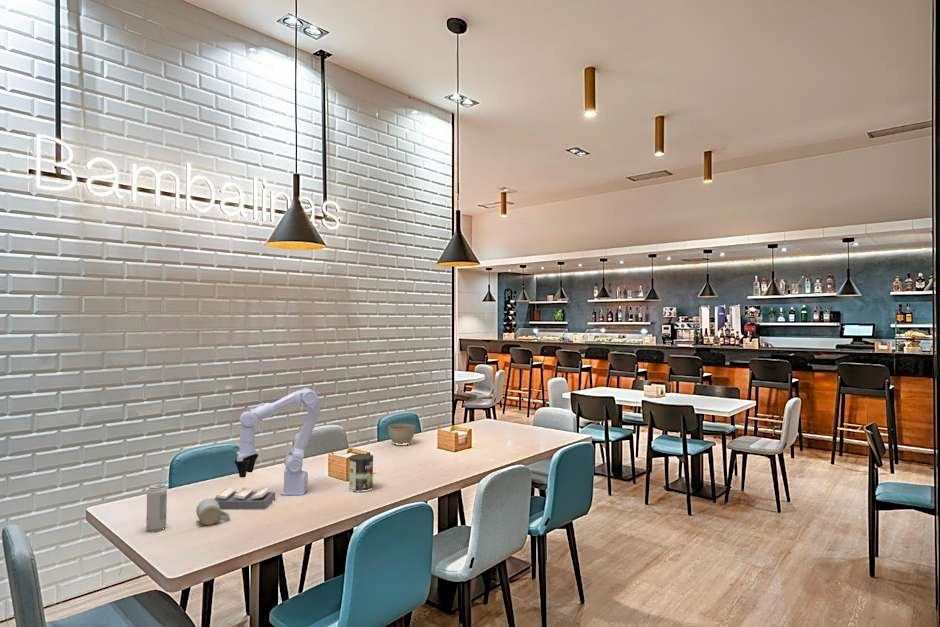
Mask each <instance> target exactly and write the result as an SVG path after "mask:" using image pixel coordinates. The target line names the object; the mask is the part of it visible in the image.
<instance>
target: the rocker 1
mask: <svg viewBox="0 0 940 627" xmlns="http://www.w3.org/2000/svg"><path fill="white" fill-rule="evenodd" d="M235 492H237V490H236V489H235V488H229V487H225V488H223V489H222V490H221V491H219V492H218V493H216V495H215V497H218V498H220V499H227V498H228V497H229V496H231V495H232V494H233V493H235Z"/></svg>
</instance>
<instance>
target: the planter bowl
mask: <svg viewBox="0 0 940 627" xmlns="http://www.w3.org/2000/svg"><path fill="white" fill-rule="evenodd" d="M387 431H388V436H389V438H390V440H391V442H392V443H393V442H394V443H398V444H403V443H409V442H410V443H411V441H412V440H413V439H414V435H415V431H416V425H414V424H411V423H393V424H389V425H388V426H387Z"/></svg>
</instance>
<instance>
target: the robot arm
mask: <svg viewBox="0 0 940 627" xmlns="http://www.w3.org/2000/svg"><path fill="white" fill-rule="evenodd" d="M293 403H294V404H302V403H303V405H304V407H305V409H306V411H307V413H306V416H305V418H304V420H303V423H302V424H301V428H300V430H299V432H298V433H297V434H298V435H297V438H296V439H295V442H294V443H293V446H292V448H291V449H290V450H289V453H288V454H286V456H285V457H284V460H283V463H284V464H283V465H284V466H285V469H284V470H283V491H282V492H281V493H280V496H303V495H305V494H306V492H307V491H308V490H309V488H308V486H309V485H308V484H309V480H308V479H309V478H308V477H309V473H308V471H306V470H303V469H302V468H303V465H304V464H303V461H304V458H305V450H306V448H307V446H308V443H309V441H310V438H311V436H312V433H313V431H314V429H315V426H316V425H317V422H318V419H319V416H320V414H321V405H320V398H319V396H318V394H317V392H316V391H315V390H312V389H311V388H309V387H303V388H302V389H298V390H296V391H294V392H292V393H290V394H288V395H286V396H283V397H281V398H280V399H278V400H276V401H274V402H272V403H270V402H262V403H260V405H259V406H256V407H254V408H249V411H244V412H242V413H241V415H240V417H239V422H240V426H239V428H240V430H239V450H238V451H236V455H237V456H236V457H237V458H235V460H234V464H235V465H236V468H237V471H238V475H239V478H242V479H243V478H246V477H247V473H253V472H254V469H255V463H256V461H257V459H258V457H259V453H257V448H255V442H256V441H255V440H256V430H255V426H256V424H257V423H259V422H261V421H263V420H265V419H267V418H269V417H271V416H273V415H274V413H275V411H277V410H279V409H282V408H284V407H287V406H288V405H291V404H293Z"/></svg>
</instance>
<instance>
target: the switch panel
mask: <svg viewBox="0 0 940 627" xmlns="http://www.w3.org/2000/svg"><path fill="white" fill-rule="evenodd" d="M237 492H238V491H235V493H233V494H232V495H231V496H229V497H228V498H227V499H220V498H218V497H216V496H215V497H214V498H213V499H214V500H216V501H217V502H218V504H219V507H220V510H266V509H267V508H268V507H269V506H270V505H271V504H272V503H273V502H274V501H275V500H276V491H269V492H267V493H266V494H265V495H264V496H263V497H260V498H258V499H257V498H256V499H252V496H253V495H254V494H255V493H257V492H258V491H253V492H252V493H251V494H250V495H249V496H247V497H246V498H245V499H241V498H240V499H238V498H236V497H234V495H235V494H236V493H237ZM274 499H275V500H274ZM273 500H274V501H273ZM272 501H273V502H272ZM266 507H267V508H266ZM265 508H266V509H265Z"/></svg>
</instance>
